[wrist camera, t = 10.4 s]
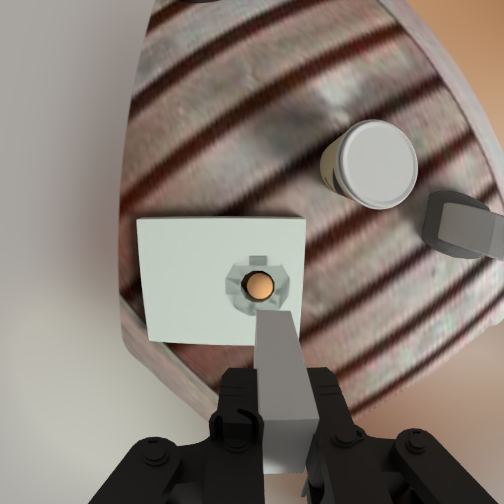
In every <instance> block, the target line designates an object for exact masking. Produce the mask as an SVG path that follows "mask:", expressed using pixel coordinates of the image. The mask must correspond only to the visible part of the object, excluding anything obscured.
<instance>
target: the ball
mask: <svg viewBox="0 0 504 504" xmlns="http://www.w3.org/2000/svg"><path fill="white" fill-rule="evenodd" d="M247 289H248V292H249V294H250V295H251V296H252V297H254V298H257V299H263V298H266V297H268V296H269V295H270V294H271V292H272V290H273V282H272V280H271V278H270V277H269V276H268V275H266V274H264V273H256V274H254V275H252V276H251V277H250V278H249V280H248V282H247Z"/></svg>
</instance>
